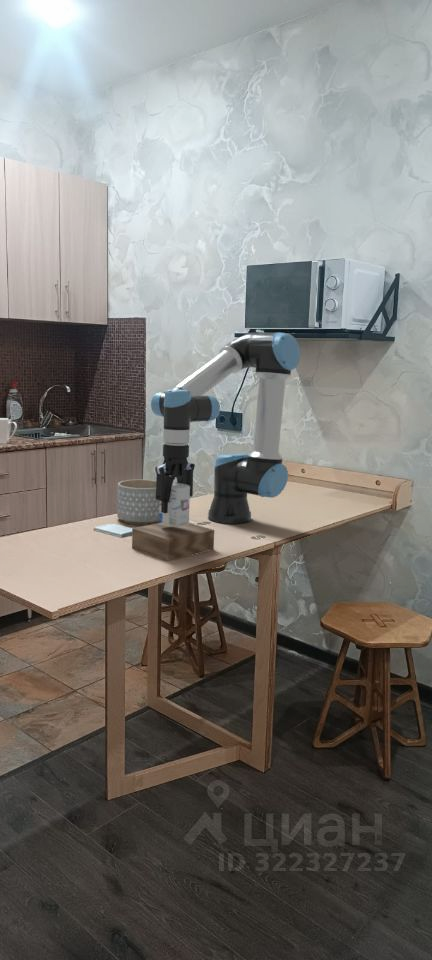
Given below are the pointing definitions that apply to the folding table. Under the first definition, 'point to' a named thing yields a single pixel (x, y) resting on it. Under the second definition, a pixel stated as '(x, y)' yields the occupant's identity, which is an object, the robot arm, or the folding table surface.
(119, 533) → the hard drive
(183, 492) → the ink box
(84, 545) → the folding table surface
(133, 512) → the planter
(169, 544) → the walnut stand
